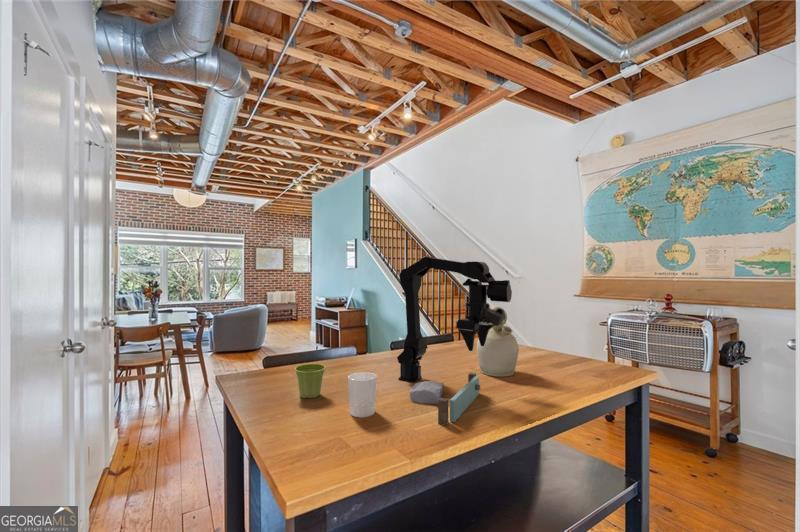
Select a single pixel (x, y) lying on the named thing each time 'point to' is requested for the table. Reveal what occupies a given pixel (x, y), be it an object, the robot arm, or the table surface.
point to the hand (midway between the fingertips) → (476, 348)
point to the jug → (498, 351)
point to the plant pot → (310, 379)
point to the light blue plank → (444, 405)
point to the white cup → (362, 393)
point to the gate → (464, 398)
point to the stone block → (426, 392)
